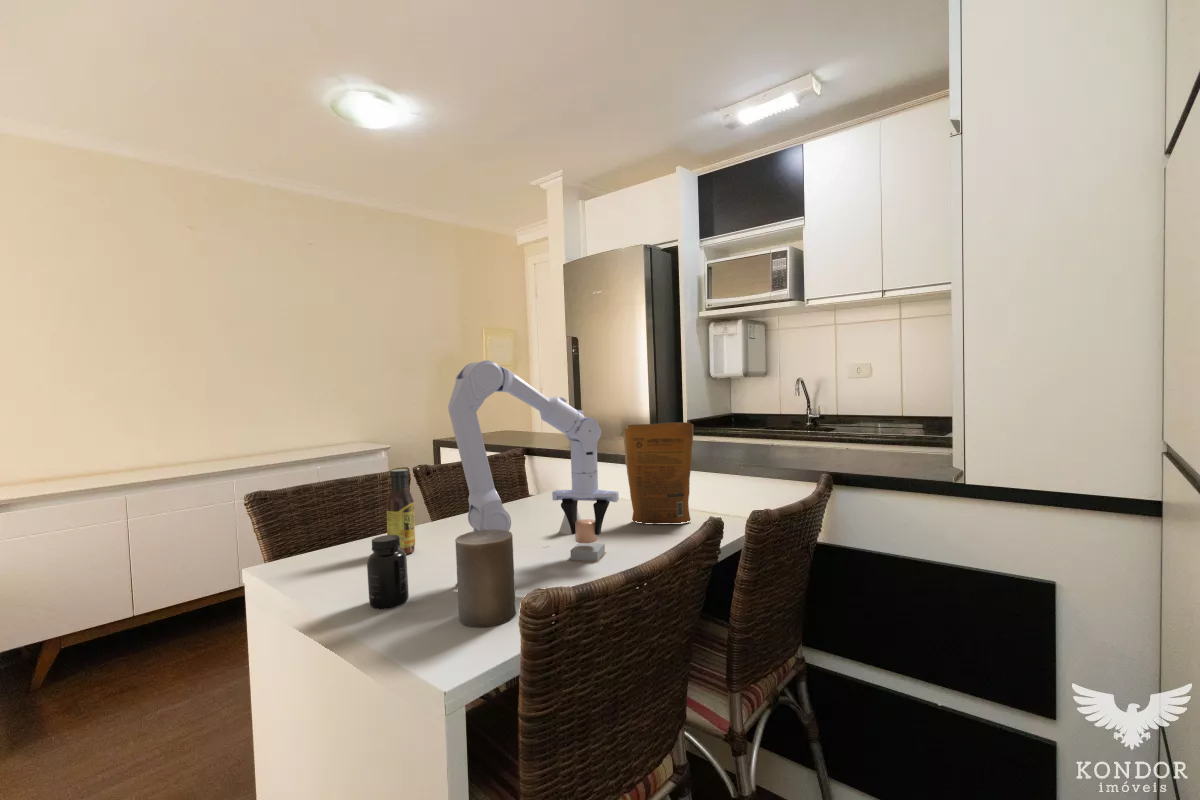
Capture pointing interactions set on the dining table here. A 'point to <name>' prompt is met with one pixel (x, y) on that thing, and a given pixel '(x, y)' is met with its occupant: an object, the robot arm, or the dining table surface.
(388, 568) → the supplement bottle
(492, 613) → the pillar candle
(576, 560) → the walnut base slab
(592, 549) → the slate top block
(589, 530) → the terracotta cylinder
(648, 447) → the pancake mix bag
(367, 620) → the dining table surface
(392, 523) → the sauce bottle
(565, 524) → the flask
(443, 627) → the dining table surface
